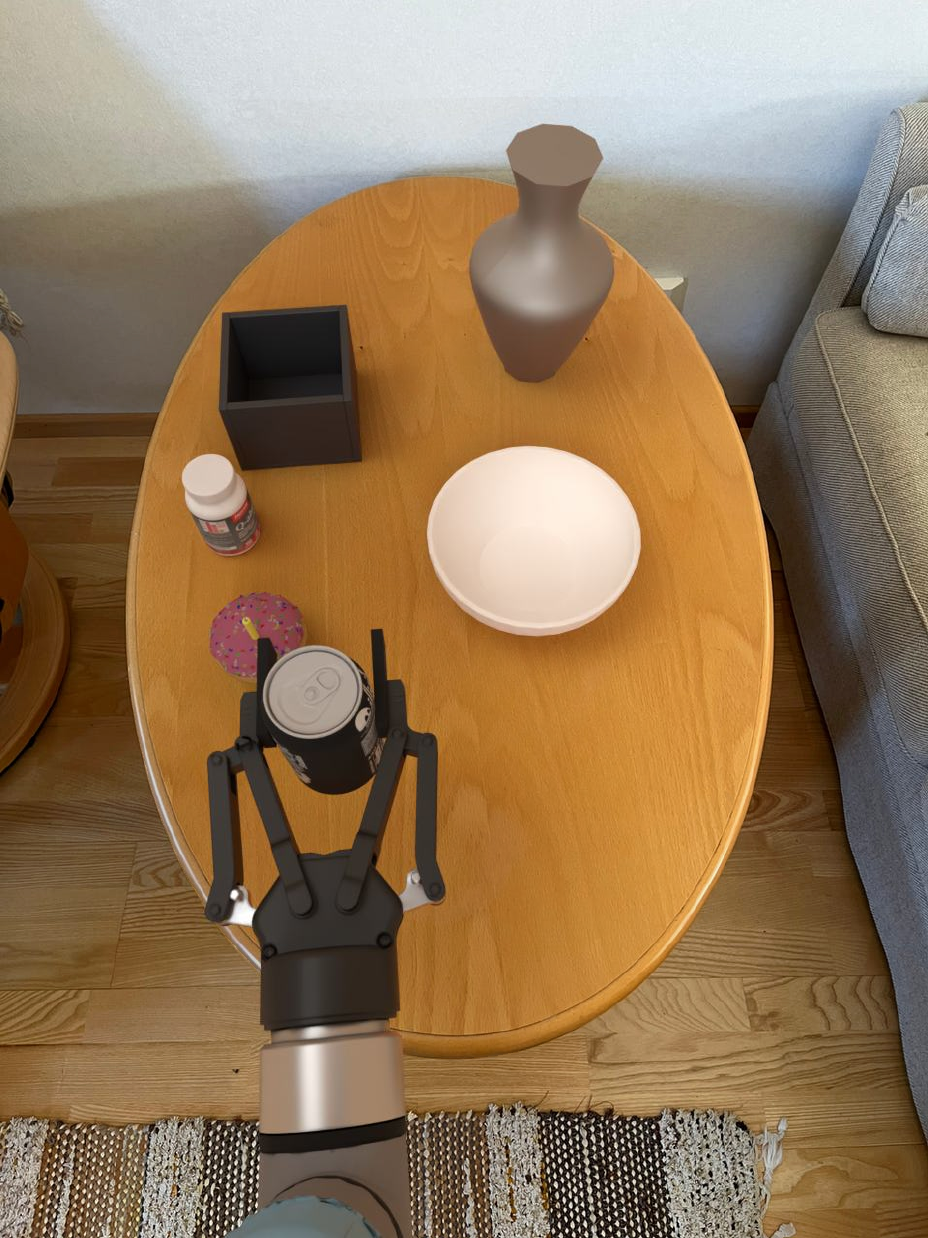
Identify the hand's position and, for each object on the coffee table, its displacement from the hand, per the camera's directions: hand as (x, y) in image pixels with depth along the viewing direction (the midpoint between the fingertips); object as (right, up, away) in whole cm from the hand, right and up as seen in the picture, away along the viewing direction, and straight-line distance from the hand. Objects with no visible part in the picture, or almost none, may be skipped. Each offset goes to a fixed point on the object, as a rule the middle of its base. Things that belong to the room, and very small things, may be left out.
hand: (323, 642), depth 55 cm
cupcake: (-9, -2, +23) cm, 25 cm away
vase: (+17, +31, +40) cm, 53 cm away
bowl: (+16, +6, +28) cm, 32 cm away
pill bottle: (-14, +10, +29) cm, 34 cm away
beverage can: (0, -8, +4) cm, 9 cm away
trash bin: (-8, +23, +36) cm, 43 cm away
